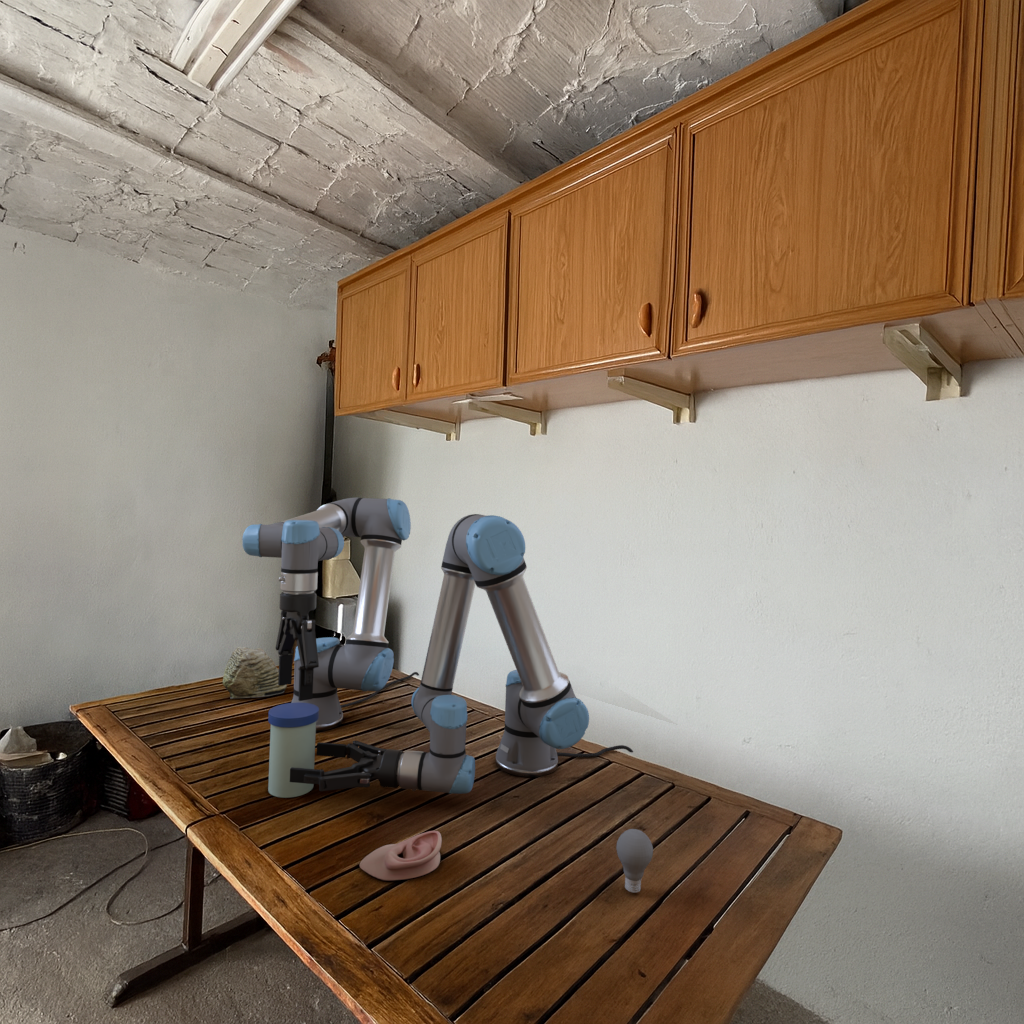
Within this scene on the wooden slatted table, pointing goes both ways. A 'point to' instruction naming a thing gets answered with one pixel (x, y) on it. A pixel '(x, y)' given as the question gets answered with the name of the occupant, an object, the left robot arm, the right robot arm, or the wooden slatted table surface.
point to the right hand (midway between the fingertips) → (304, 761)
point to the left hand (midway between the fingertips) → (294, 691)
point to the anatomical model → (405, 858)
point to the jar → (290, 758)
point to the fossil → (251, 674)
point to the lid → (293, 715)
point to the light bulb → (634, 857)
